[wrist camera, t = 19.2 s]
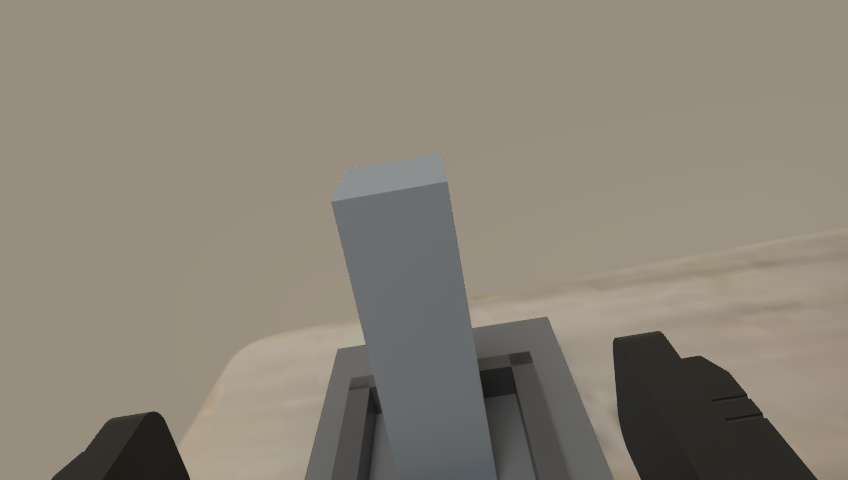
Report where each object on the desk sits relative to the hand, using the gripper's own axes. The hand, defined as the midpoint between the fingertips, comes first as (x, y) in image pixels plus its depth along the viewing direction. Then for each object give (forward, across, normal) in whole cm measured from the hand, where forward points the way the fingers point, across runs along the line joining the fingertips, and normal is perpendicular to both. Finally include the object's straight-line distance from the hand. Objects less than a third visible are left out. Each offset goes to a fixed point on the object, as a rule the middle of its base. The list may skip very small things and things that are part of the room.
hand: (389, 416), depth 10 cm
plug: (+11, 0, +11) cm, 15 cm away
